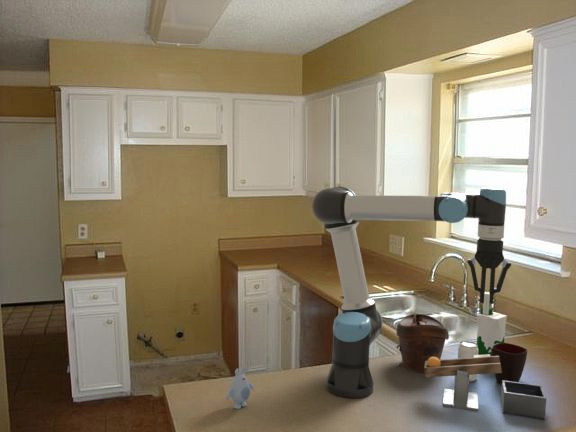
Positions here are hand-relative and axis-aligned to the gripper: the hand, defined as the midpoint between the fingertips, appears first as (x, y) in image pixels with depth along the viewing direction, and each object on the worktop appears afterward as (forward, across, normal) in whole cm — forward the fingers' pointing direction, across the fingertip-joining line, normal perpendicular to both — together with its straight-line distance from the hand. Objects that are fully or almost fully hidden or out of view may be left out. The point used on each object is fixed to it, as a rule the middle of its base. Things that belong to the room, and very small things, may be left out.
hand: (485, 313), depth 169 cm
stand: (+26, -6, -7) cm, 28 cm away
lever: (+17, -6, -3) cm, 18 cm away
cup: (+27, +10, +14) cm, 32 cm away
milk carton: (+27, +4, +30) cm, 40 cm away
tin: (+26, +11, -7) cm, 30 cm away
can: (+27, -4, +12) cm, 29 cm away
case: (+27, -20, +18) cm, 38 cm away
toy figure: (+26, -68, -34) cm, 81 cm away
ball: (+18, -14, -7) cm, 24 cm away
